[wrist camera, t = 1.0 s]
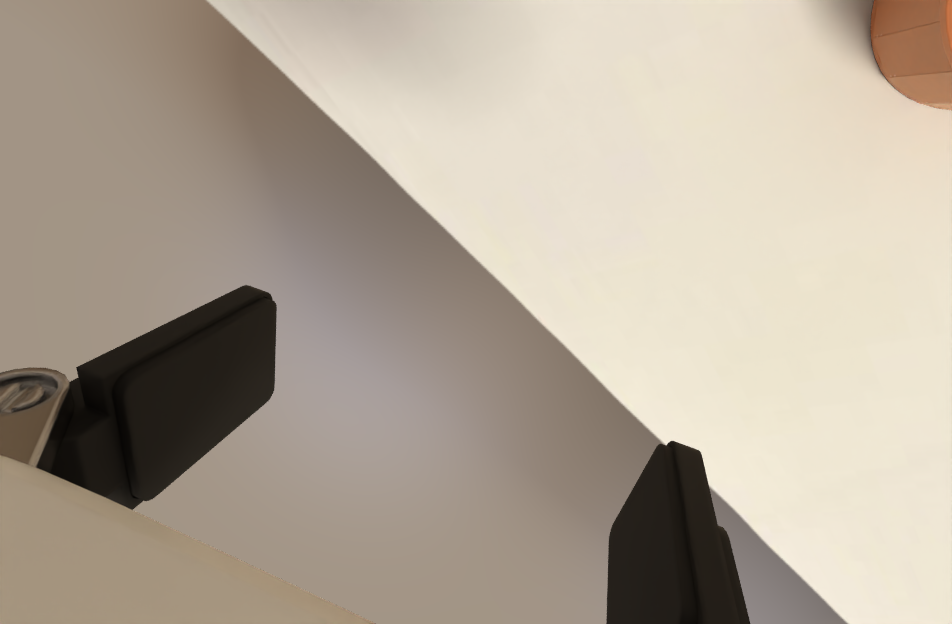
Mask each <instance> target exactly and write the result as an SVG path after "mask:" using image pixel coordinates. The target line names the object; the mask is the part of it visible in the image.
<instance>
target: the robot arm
mask: <svg viewBox="0 0 952 624" xmlns="http://www.w3.org/2000/svg"><path fill="white" fill-rule="evenodd" d="M275 344H276V303H275V302H274V301H272V297H271V295H270V294H269V293H268V292H265V291H262V290H260V289H257V288H254V287H251V286H247V285H245V286H242V287H240V288H238V289H236V290H234V291H232V292H230V293H227V294H225V295H223V296H221V297H219V298H217V299H215V300H213V301H211V302H209V303H207V304H205V305H203V306H201V307H199V308H197V309H195V310H193V311H191V312H189V313H187V314H185V315H183V316H180V317H178V318H176V319H175V320H172V321H170V322H168V323H166V324H164V325H162V326H160V327H158V328H156V329H154V330H152V331H150V332H148V333H146V334H144V335H142V336H140V337H138V338H136V339H134V340H132V341H130V342H127V343H125V344H123V345H121V346H120V347H117V348H115V349H113V350H111V351H109V352H107V353H105V354H103V355H101V356H99V357H97V358H95V359H93V360H91V361H89V362H87V363H84V364H83V365H80V366H78V367H76V368H77V372H78V377H79V378H77V379H75V380H73V381H71V382H69V381H68V379H67V377H66V376H65V375H64V374H62V373H60V372H58V371H56V370H52V369H47V368H23V369H14V370H10V371H6V372H2V373H0V624H375V623H373V622H371V621H369V620H367V619H365V618H363V617H361V616H358V615H356V614H354V613H352V612H350V611H348V610H346V609H344V608H341V607H339V606H337V605H335V604H333V603H331V602H328V601H326V600H325V599H322V598H320V597H318V596H316V595H314V594H312V593H310V592H307V591H305V590H303V589H301V588H299V587H297V586H295V585H293V584H290V583H288V582H286V581H284V580H282V579H280V578H278V577H275V576H273V575H271V574H269V573H267V572H265V571H263V570H261V569H258V568H256V567H254V566H252V565H250V564H248V563H246V562H243V561H241V560H239V559H237V558H235V557H233V556H231V555H228V554H226V553H224V552H222V551H220V550H218V549H216V548H213V547H211V546H209V545H207V544H204V543H202V542H200V541H198V540H196V539H194V538H192V537H190V536H187V535H185V534H183V533H181V532H179V531H177V530H174V529H172V528H170V527H168V526H166V525H164V524H161V523H159V522H157V521H154V520H153V519H151V518H148V517H146V516H144V515H142V514H140V513H138V512H135V511H133V509H134V508H135V507H136V506H137V505H139V504H140V503H141V502H142V501H149V500H151V499H153V498H154V497H155V496H157V495H158V494H159V493H160V492H162V491H163V490H164V489H165V488H166V487H168V486H169V485H170V484H171V483H172V482H173V481H174V480H176V479H177V478H178V477H179V476H181V475H182V474H183V473H184V472H185V471H186V470H187V469H189V468H190V467H191V466H192V465H193V464H195V463H196V462H197V461H198V460H199V459H201V458H202V457H203V456H204V455H205V454H206V453H207V452H209V451H210V450H211V449H212V448H213V447H214V446H216V445H217V444H218V443H219V442H220V441H222V440H223V439H224V438H225V437H226V436H228V435H229V434H230V433H231V432H232V431H233V430H235V429H236V428H237V427H238V426H239V425H240V424H242V423H243V422H244V421H245V420H246V419H248V417H250V416H251V415H252V414H253V413H255V412H256V411H257V410H258V409H259V408H260V407H262V406H263V405H264V404H265V403H266V402H267V401H268V400H269V399H270V398H271V396H272V394H273V391H274V383H275V346H276V345H275ZM105 497H106V498H105ZM608 556H609V557H608V558H609V559H608V592H607V624H750V621H749V617H748V613H747V609H746V604H745V601H744V596H743V592H742V588H741V584H740V580H739V576H738V572H737V568H736V564H735V560H734V556H733V553H732V548H731V544H730V540H729V537H728V534H727V532H726V531H725V530H724V528H723V527H720V526H718V525H717V520H716V516H715V512H714V507H713V503H712V498H711V494H710V489H709V485H708V481H707V476H706V472H705V467H704V463H703V459H702V455H701V452H700V451H699V450H696V449H694V448H691V447H688V446H686V445H683V444H680V443H677V442H675V441H670V442H669V443H668V444H667V446H666V445H663V444H659V445H658V446H657V447H656V449H655V451H654V452H653V454H652V456H651V458H650V460H649V461H648V463H647V465H646V467H645V468H644V470H643V472H642V474H641V476H640V477H639V479H638V481H637V483H636V484H635V486H634V488H633V490H632V492H631V493H630V495H629V497H628V499H627V500H626V502H625V504H624V506H623V507H622V509H621V511H620V513H619V514H618V516H617V518H616V520H615V521H614V523H613V525H612V528H611V532H610V536H609V555H608Z"/></svg>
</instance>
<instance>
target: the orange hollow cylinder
mask: <svg viewBox="0 0 952 624" xmlns="http://www.w3.org/2000/svg"><path fill="white" fill-rule="evenodd" d="M939 11H940V0H874V4H873V9H872V14H871V30H870V32H871V42H872V48H873V52H874V56H875V59H876V61H877V64H878V66H879V68H880V70H881V72H882V73H883V75H884V76H885V77H886V79H887V80H888V82H889V83H890V84H891V85H892V86H894V87H895V88H896V89H897V90H898V91H899V92H900V93H902V94H903V95H905V96H906V97H908V98H910V99H912V100H914V101H916V102H917V103H920V104H924V105H927V106H931V107H934V108H940V109H947V110H952V67H951V65H950V63H949V60H948V58H947V56H946V53H945V50H944V46H943V42H942V37H941V32H940V15H939Z"/></svg>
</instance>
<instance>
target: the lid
mask: <svg viewBox="0 0 952 624" xmlns="http://www.w3.org/2000/svg"><path fill="white" fill-rule="evenodd" d="M939 15H940V32H941V37H942V42H943V46H944V50H945V53H946V56H947V58H948V60H949V63H950V65H951V67H952V0H940V11H939Z"/></svg>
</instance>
